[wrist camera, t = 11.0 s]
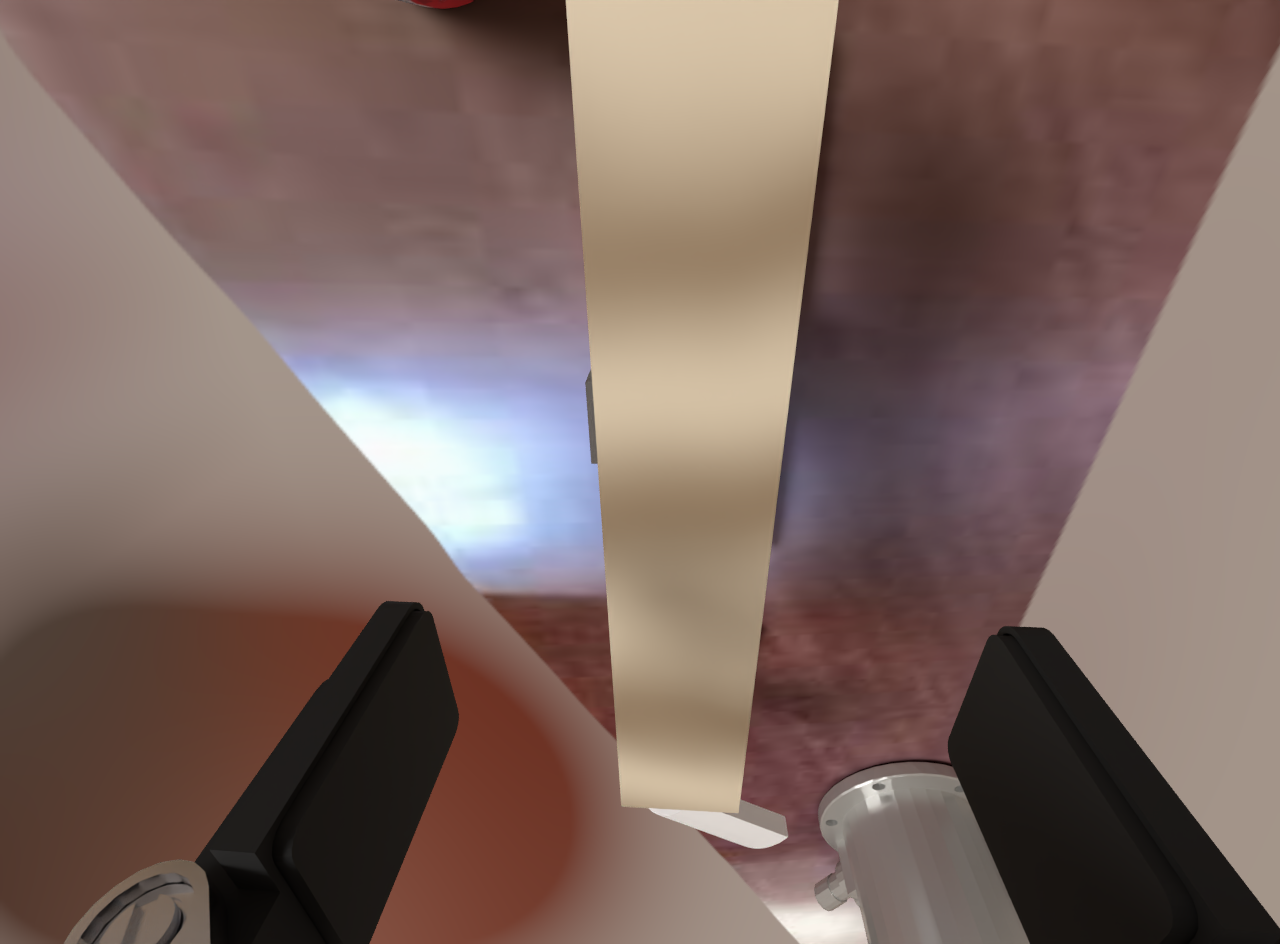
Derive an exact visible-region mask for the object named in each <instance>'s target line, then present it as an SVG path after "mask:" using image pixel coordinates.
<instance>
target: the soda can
mask: <svg viewBox="0 0 1280 944" xmlns="http://www.w3.org/2000/svg"><path fill="white" fill-rule="evenodd" d="M399 1H403V2H406V3H410V4H414V5H419V6H423V7H428V8H438V9H445V8H454V7H459V6H462V5H465V4H468V3H471V2H473V1H474V0H399Z"/></svg>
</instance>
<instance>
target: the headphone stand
mask: <svg viewBox="0 0 1280 944" xmlns="http://www.w3.org/2000/svg"><path fill="white" fill-rule="evenodd" d="M649 809H650V810H651V811H652V812H654V813H655V814H658V815H660V816H663V817H666V818H668V819H671V820H674V821H677V822H679V823H682V824H685V825H687V826H691V827H693V828H696V829H698V830H701V831H704V832H707V833H709V834H712V835H715V836H718V837H720V838H723V839H726V840H729V841H732V842H734V843H737V844H740V845H743V846H745V847H749V848H766V847H771V846H773V845H775V844H778V843H780V842H781V841H783V840H785V839H786V838H788V833H787V826H786V819H785V816H782V815H780V814H777V813H774V812H772V811H769V810H766V809H764V808H761V807H759V806H756V805H753V804H751V803H748V802H745V801H743V800H740V805H739V813H725V812H708V811H690V810H673V809H656V808H649Z"/></svg>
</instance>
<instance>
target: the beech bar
mask: <svg viewBox="0 0 1280 944" xmlns="http://www.w3.org/2000/svg"><path fill="white" fill-rule="evenodd" d="M838 1H839V0H566V11H567V25H568V40H569V54H570V68H571V83H572V97H573V112H574V126H575V141H576V155H577V170H578V184H579V199H580V213H581V228H582V242H583V257H584V271H585V286H586V300H587V315H588V329H589V343H590V358H591V372H592V387H593V401H594V416H595V430H596V445H597V459H598V474H599V488H600V503H601V517H602V532H603V546H604V561H605V575H606V590H607V604H608V618H609V633H610V647H611V662H612V676H613V691H614V705H615V720H616V734H617V748H618V763H619V778H620V792H621V806H622V807H638V808H656V809H673V810H690V811H708V812H725V813H739V805H740V797H741V789H742V780H743V772H744V764H745V756H746V748H747V740H748V732H749V724H750V716H751V707H752V699H753V691H754V683H755V675H756V667H757V659H758V651H759V643H760V634H761V626H762V618H763V610H764V602H765V594H766V586H767V578H768V569H769V561H770V553H771V545H772V537H773V529H774V521H775V513H776V505H777V496H778V488H779V480H780V472H781V464H782V456H783V448H784V440H785V431H786V423H787V415H788V407H789V399H790V391H791V383H792V375H793V367H794V358H795V350H796V342H797V334H798V326H799V318H800V310H801V302H802V294H803V285H804V277H805V269H806V261H807V253H808V245H809V237H810V229H811V220H812V212H813V204H814V196H815V188H816V180H817V172H818V164H819V156H820V147H821V139H822V131H823V123H824V115H825V107H826V99H827V91H828V82H829V74H830V66H831V58H832V50H833V42H834V34H835V26H836V18H837V9H838Z"/></svg>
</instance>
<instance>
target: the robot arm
mask: <svg viewBox="0 0 1280 944" xmlns="http://www.w3.org/2000/svg"><path fill="white" fill-rule="evenodd" d="M458 720H459V713H458V708H457V704H456V701H455V697H454V693H453V690H452V686H451V682H450V679H449V675H448V671H447V667H446V664H445V660H444V656H443V653H442V649H441V645H440V642H439V638H438V634H437V630H436V627H435V623H434V619H433V616H432V614H431V613H430V612H429V611H424V609H423V606H422V605H421V604H420V603H417V602H394V601H386V602H384V603H383V604H381V605H380V607H379V608H378V609H377V610H376V612H375V613H374V615H373V616H372V618H371V619H370V620H369V622H368V623H367V625H366V626H365V628H364V629H363V630H362V632H361V633H360V635H359V636H358V638H357V639H356V641H355V642H354V643H353V645H352V646H351V648H350V649H349V651H348V652H347V653H346V655H345V656H344V658H343V659H342V661H341V662H340V664H339V665H338V666H337V668H336V669H335V671H334V672H333V673H332V675H331V676H330V678H329V679H328V680H326V681H325V682H323V683H322V684H321V685H320V687H319V688H318V689H317V690H316V691H315V693H314V694H313V696H312V697H311V698H310V700H309V701H308V702H307V704H306V705H305V707H304V708H303V710H302V711H301V712H300V714H299V715H298V717H297V718H296V719H295V721H294V722H293V724H292V725H291V727H290V728H289V729H288V731H287V732H286V734H285V735H284V736H283V738H282V739H281V741H280V742H279V743H278V745H277V746H276V748H275V749H274V751H273V752H272V753H271V755H270V756H269V758H268V759H267V760H266V762H265V763H264V765H263V766H262V767H261V769H260V770H259V772H258V773H257V775H256V776H255V777H254V779H253V780H252V782H251V783H250V784H249V786H248V787H247V789H246V790H245V792H244V793H243V794H242V796H241V797H240V799H239V800H238V802H237V803H236V804H235V806H234V807H233V809H232V810H231V811H230V813H229V814H228V816H227V817H226V818H225V820H224V821H223V823H222V824H221V826H220V827H219V828H218V830H217V831H216V833H215V834H214V836H213V837H212V838H211V840H210V841H209V842H208V844H207V845H206V847H205V848H204V849H203V851H202V852H201V854H200V855H199V857H198V858H197V859H196V861H195V862H190V861H185V860H173V861H167V862H161V863H158V864H156V865H153V866H151V867H148V868H146V869H143V870H141V871H139V872H137V873H136V874H134V875H132V876H131V877H129V878H128V879H126V880H124V881H123V882H121V883H120V884H118V885H116V886H115V887H114V888H113V889H112V890H110V891H109V892H108V893H107V894H106V895H104V896H103V897H102V898H101V899H100V900H99V901H98V902H96V903H95V904H94V905H93V906H92V907H91V908H90V909H89V911H88V912H87V913H86V914H85V915H84V916H83V917H82V919H81V920H80V921H79V922H78V923H77V924H76V925H75V927H74V928H73V930H72V931H71V933H70V934H69V936H68V938H67V939H66V941H65V942H64V944H369V943H370V941H371V938H372V936H373V933H374V931H375V929H376V926H377V924H378V921H379V919H380V916H381V914H382V911H383V909H384V907H385V904H386V902H387V899H388V897H389V894H390V892H391V889H392V887H393V885H394V882H395V880H396V877H397V875H398V872H399V870H400V868H401V865H402V863H403V860H404V858H405V855H406V853H407V851H408V848H409V846H410V843H411V841H412V838H413V836H414V833H415V831H416V828H417V826H418V824H419V821H420V819H421V816H422V814H423V811H424V809H425V807H426V804H427V802H428V799H429V797H430V794H431V792H432V789H433V787H434V784H435V782H436V780H437V777H438V775H439V773H440V770H441V768H442V765H443V762H444V760H445V758H446V755H447V753H448V751H449V748H450V746H451V743H452V741H453V738H454V736H455V733H456V730H457V726H458ZM948 753H949V757H950V761H951V764H952V766H953V767H951V766H948V765H944V764H937V763H930V762H901V763H891V764H886V765H881V766H875V767H872V768H869V769H866V770H863V771H860V772H857V773H855V774H853V775H851V776H849V777H847V778H845V779H843V780H842V781H840V782H839V783H837V784H836V785H834V786H833V787H832V788H831V789H830V790H829V791H828V792H827V793H826V794H825V796H824V798H823V799H822V801H821V803H820V805H819V809H818V819H819V825H820V829H821V832H822V836H823V837H824V839H825V840H826V842H827V843H828V844H829V845H830V846H831V847H832V848H834V849H835V850H836V851H837V852H838V853H839V858H840V862H838V863H837V865H836V868H835V873H833V874H832V873H831V874H830V875H828V876H827V877H825V878H824V879H823V880H821V881H820V882H818V883H817V884H815V888H814V892H815V897H816V899H817V901H818V903H819V904H820V905H821V907H822V908H823V909H825V910H827V911H831V910H834V909H835V908H837V907H839V906H840V905H842V904H843V903H845V902H846V901H847V899H848V898H850V897H851V898H853V899H854V900H855V902H856V904H857V905H858V906H859V907H860V910H861V914H862V919H863V923H864V927H865V931H866V936H867V940H868V944H1280V928H1279V927H1278V926H1277V924H1276V923H1275V922H1274V920H1273V919H1272V918H1271V916H1270V915H1269V914H1268V913H1267V911H1266V910H1265V909H1264V907H1263V906H1262V905H1261V903H1260V902H1259V901H1258V900H1257V898H1256V897H1255V896H1254V894H1253V893H1252V892H1251V891H1250V890H1249V888H1248V887H1247V885H1246V884H1245V883H1244V881H1243V880H1242V879H1241V878H1240V876H1239V875H1238V874H1237V872H1236V871H1235V870H1234V868H1233V867H1232V866H1231V865H1230V863H1229V862H1228V861H1227V860H1226V858H1225V857H1224V855H1223V854H1222V853H1221V852H1220V850H1219V849H1218V848H1217V846H1216V845H1215V844H1214V842H1213V841H1212V840H1211V839H1210V837H1209V836H1208V835H1207V833H1206V832H1205V831H1204V829H1203V828H1202V827H1201V826H1200V824H1199V823H1198V822H1197V821H1196V819H1195V818H1194V816H1193V815H1192V814H1191V813H1190V811H1189V810H1188V809H1187V807H1186V806H1185V805H1184V804H1183V802H1182V801H1181V800H1180V799H1179V797H1178V796H1177V794H1176V793H1175V792H1174V791H1173V789H1172V788H1171V787H1170V785H1169V784H1168V783H1167V781H1166V780H1165V779H1164V778H1163V776H1162V775H1161V774H1160V772H1159V771H1158V770H1157V768H1156V767H1155V766H1154V765H1153V763H1152V762H1151V761H1150V759H1149V758H1148V757H1147V755H1146V754H1145V753H1144V752H1143V751H1142V749H1141V748H1140V746H1139V745H1138V744H1137V742H1136V741H1135V740H1134V739H1133V738H1132V736H1131V735H1130V733H1129V732H1128V731H1127V730H1126V728H1125V727H1124V726H1123V724H1122V723H1121V722H1120V720H1119V719H1118V718H1117V717H1116V715H1115V714H1114V713H1113V711H1112V710H1111V709H1110V707H1109V706H1108V705H1107V704H1106V702H1105V701H1104V700H1103V698H1102V697H1101V696H1100V694H1099V693H1098V692H1097V691H1096V689H1095V688H1094V687H1093V685H1092V684H1091V683H1090V681H1089V680H1088V679H1087V678H1086V677H1085V675H1084V674H1083V672H1082V671H1081V670H1080V668H1079V667H1078V666H1077V665H1076V663H1075V662H1074V661H1073V659H1072V658H1071V657H1070V655H1069V654H1068V653H1067V652H1066V650H1065V649H1064V648H1063V646H1062V645H1061V644H1060V643H1059V641H1058V640H1057V639H1056V637H1055V636H1054V635H1053V634H1052V633H1051V632H1050V631H1049V630H1047V629H1045V628H1036V627H1034V628H1033V627H1012V626H1004V627H1002V628H1001V629H1000V630H999V632H998V633H997V635H991V636H990V637H989V638H988V640H987V642H986V645H985V647H984V650H983V652H982V655H981V657H980V660H979V662H978V665H977V668H976V670H975V673H974V675H973V678H972V680H971V683H970V685H969V688H968V690H967V693H966V696H965V698H964V701H963V703H962V706H961V708H960V711H959V713H958V716H957V718H956V721H955V723H954V726H953V729H952V731H951V734H950V736H949V740H948Z"/></svg>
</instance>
